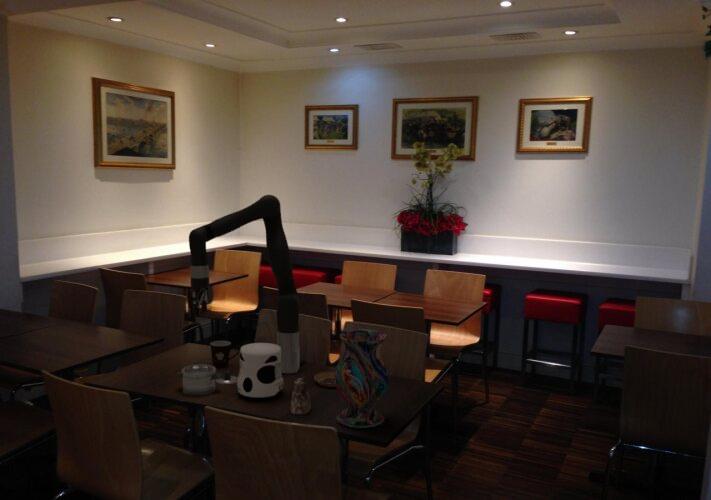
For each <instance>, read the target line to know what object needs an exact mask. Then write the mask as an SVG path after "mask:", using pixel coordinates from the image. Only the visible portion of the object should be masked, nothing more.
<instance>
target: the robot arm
mask: <svg viewBox="0 0 711 500" xmlns="http://www.w3.org/2000/svg"><path fill="white" fill-rule="evenodd" d="M281 210H282V208H281V201H280V200H279V198H277V197H276V195H272V194H265V195H263V196H261V197H259V199H257V200H256V201H255V202H253V203H252V204H250V205H249V206H247V207H244V208H243V209H240V210H238V211H234V212H232V213H229V214H226V215H224V216H222V217H221V216H220V217H219V218H217V219H214V220H212V222H210V223H207V224H204V225H201V226H198V227H196V228H194V229H193V230H191V231H190V232H189V234H188V246H189V252H190V275H189V276H190V288H191V289H194V291H192V292H191V293H190V306H191V308H193V317H195V318H196V317H197V318H198V317H200V315H201V314H200V313H201V312H202V313H207V312H208V303H209V301H210V288H209V286H210V269H209V254H208V252H207V243H209V242H210V241H212V240H215V239H216V238H219V237H222V236H225V235H227V234H230V233H231V232H234V231H235V230H238V229H240V228H241V227H244V226H246V225H247V224H250V223H252V222H253V223H254V222H255V221H258V220H261V219H262V221H263V224H264V229H265V244H266V253H267V258H268V263H269V266H270V269H271V271H272V274H273V276H274V279H275V282H276V285H277V293H278V300H277V303H276V329H277V331H276V333H277V334H276V335H277V337H276V345H278V346H280V347H281V372H282V374H294V373H295V374H297V373H298V371H299V370H300V360H301V358H300V353H301V351H300V349H301V348H300V345H299V344H300V323H299V322H300V320H299V319H300V318H299V317H300V313H299V312H300V306H301V300H300V296H299V293H298V290H297V287H296V284H295V280H294V270H293V263H292V258H291V253H290V252H291V251H290V247H289V243H288V239H287V235H286V232H285V230H284V226H283V221H282V219H283V218H282V211H281ZM200 307H201V312H200Z"/></svg>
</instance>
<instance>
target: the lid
mask: <svg viewBox="0 0 711 500" xmlns="http://www.w3.org/2000/svg"><path fill="white" fill-rule="evenodd" d="M237 379H238V377H237V376H235V375H232V370H231V369H230V368H229V369H223V375H222V376H221V377H220V378H219V379H215V383H217V384H221V385H233V384H237Z"/></svg>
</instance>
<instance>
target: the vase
mask: <svg viewBox="0 0 711 500" xmlns="http://www.w3.org/2000/svg"><path fill="white" fill-rule="evenodd" d="M338 336H339V337H338V338H339V339H340V340H341V342H343V344H344V346H345V352H344V354H343V356H342V358H341V359H340V361H339V362H338V364H337V366H336V368H335V369H336V370H335V372H336V373H335V384H336V387H335V388H336V390H337V392H338V394H339V396H340V398H342V400H344V402H345V403H346V405H347V407H346V408H345V409H344V410H342V411H341V412H339V413H338V415H336V418H335V420H336V421H337V422H338V424H340V423H341V424H340V425H342V424H343V426H344V425H346V426H345V427H347V426H349V427H348V428H351V427H353V428H352V429H359V428H366V429H370V428H369V427H374V426H376V425H379V424H381V423H382V422H383V421H384V419H385V417H384V415H383V414H381V413H380V412H379V411H377V410H376V409H375V406H376V405H377V403H378V402H379V401H380V400H381V399H382V398H383V397H384V395H385V393H386V392H387V390H388V389H387V388H388V386H389V379H390V377H389V375H390V374H389V370H388V367H387V364H386V363H385V360H384V358H383V356H382V355H381V347H382V346H383V344H384V343H385V342H386V341H387V340H388V335H387V334H385V332H382V331H378V330H375V329H374V330H373V329H364V328H361V329H360V328H358V329H348V330H345V331H342V332H340V333H339V334H338ZM384 422H385V421H384ZM381 425H382V424H381ZM367 427H368V428H367ZM374 428H375V427H374Z"/></svg>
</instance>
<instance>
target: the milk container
mask: <svg viewBox="0 0 711 500" xmlns="http://www.w3.org/2000/svg"><path fill="white" fill-rule="evenodd" d="M239 350H240V351H239V372H238V379H237V382H236V386H237V391H238V393H239V394H240V395H241V396H242V397H245V398H248V399H252V400H263V399H270V398H273V397H276V396H278V395H279V394H280V393H282V391H283V387H284V376H283V373H282V372H281V347H280V346H278V345H277V344H276V343H271V342H270V343H269V342H254V343H253V342H252V343H248V344H244V345H242V346H241V347H240V349H239Z"/></svg>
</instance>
